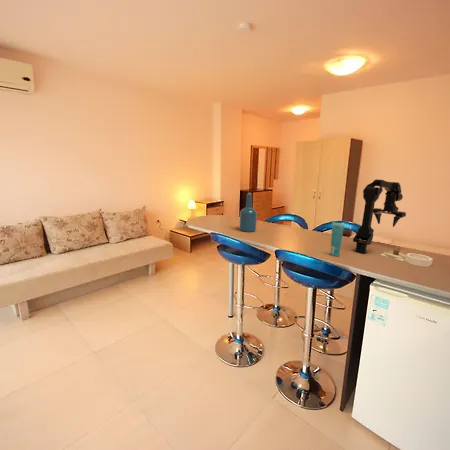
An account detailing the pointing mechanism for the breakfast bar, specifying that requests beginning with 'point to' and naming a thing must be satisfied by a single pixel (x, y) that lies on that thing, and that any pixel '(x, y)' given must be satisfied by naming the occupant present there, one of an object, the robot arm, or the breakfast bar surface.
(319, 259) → the breakfast bar surface
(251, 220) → the wine bottle
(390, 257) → the mat
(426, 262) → the bowl
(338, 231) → the tube
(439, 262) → the breakfast bar surface
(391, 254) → the lid
